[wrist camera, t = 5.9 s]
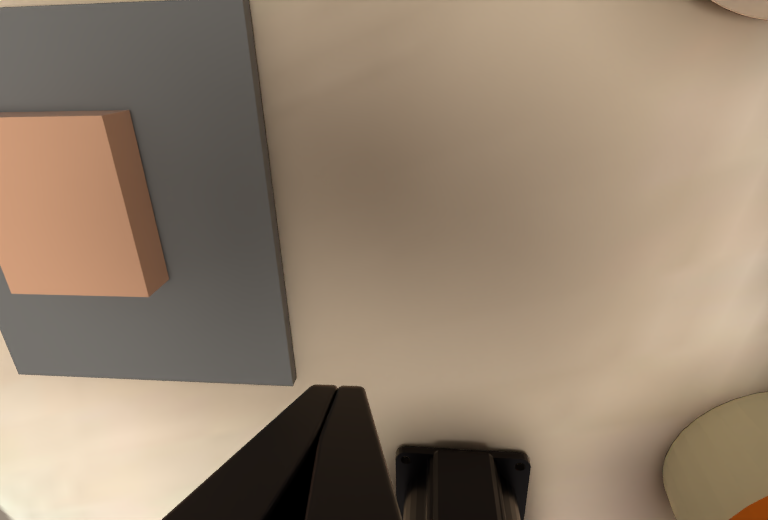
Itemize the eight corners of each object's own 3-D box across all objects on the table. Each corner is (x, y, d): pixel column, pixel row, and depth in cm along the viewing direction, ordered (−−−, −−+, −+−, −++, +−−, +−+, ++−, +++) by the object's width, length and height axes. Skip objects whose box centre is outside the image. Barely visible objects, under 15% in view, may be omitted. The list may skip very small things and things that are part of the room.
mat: (296, 378, 23) (292, 386, 22) (28, 366, 24) (18, 374, 24) (248, -2, 16) (242, -3, 16) (-115, 14, 18) (-132, 13, 17)
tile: (148, 297, 19) (11, 293, 20) (169, 278, 21) (41, 276, 21) (101, 115, 16) (-57, 118, 17) (130, 109, 18) (-17, 112, 18)
